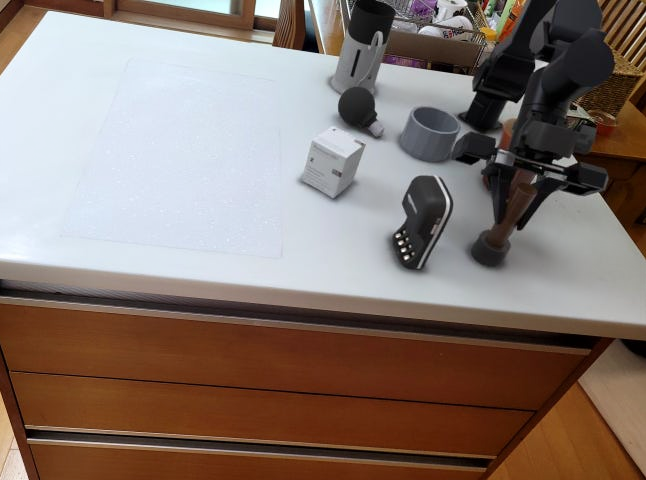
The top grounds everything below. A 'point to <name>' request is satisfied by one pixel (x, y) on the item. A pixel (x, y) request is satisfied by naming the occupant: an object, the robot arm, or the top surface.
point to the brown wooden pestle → (503, 228)
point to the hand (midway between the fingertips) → (508, 227)
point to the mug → (519, 175)
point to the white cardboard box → (333, 161)
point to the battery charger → (422, 219)
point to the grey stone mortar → (430, 133)
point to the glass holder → (363, 45)
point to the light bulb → (360, 109)
